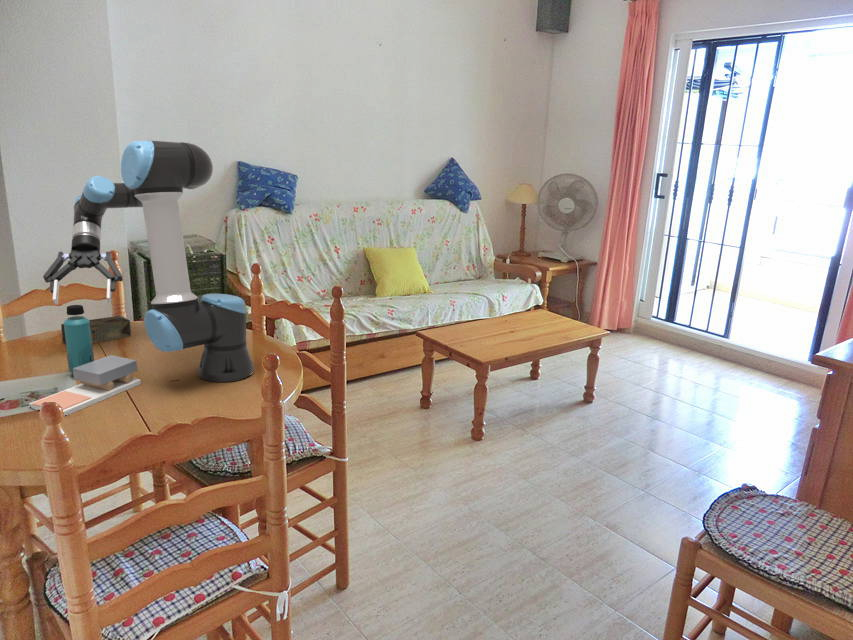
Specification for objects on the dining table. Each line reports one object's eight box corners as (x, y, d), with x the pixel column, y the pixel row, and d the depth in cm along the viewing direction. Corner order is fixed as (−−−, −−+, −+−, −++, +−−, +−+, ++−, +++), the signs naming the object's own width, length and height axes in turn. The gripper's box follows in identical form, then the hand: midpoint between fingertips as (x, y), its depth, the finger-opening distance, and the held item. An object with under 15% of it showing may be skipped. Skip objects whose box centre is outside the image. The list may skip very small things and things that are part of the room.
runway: (141, 383, 167) (140, 371, 166) (62, 417, 146) (60, 403, 145) (110, 376, 171) (109, 364, 170) (29, 408, 149) (27, 394, 148)
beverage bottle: (94, 378, 169) (87, 308, 164) (67, 380, 167) (59, 309, 162) (97, 369, 175) (90, 302, 170) (70, 371, 173) (63, 303, 167)
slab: (137, 370, 167) (136, 360, 166) (100, 385, 156) (99, 374, 155) (111, 365, 170) (111, 355, 169) (73, 379, 159) (72, 368, 158)
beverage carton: (132, 337, 206) (131, 318, 204) (70, 348, 191) (68, 328, 190) (122, 331, 210) (120, 313, 209) (61, 342, 196) (58, 323, 195)
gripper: (133, 247, 192) (132, 306, 183) (41, 247, 184) (35, 309, 175) (130, 233, 186) (128, 293, 177) (35, 232, 178) (28, 295, 168)
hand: (82, 301), depth 176 cm, fingers open, 13 cm apart
